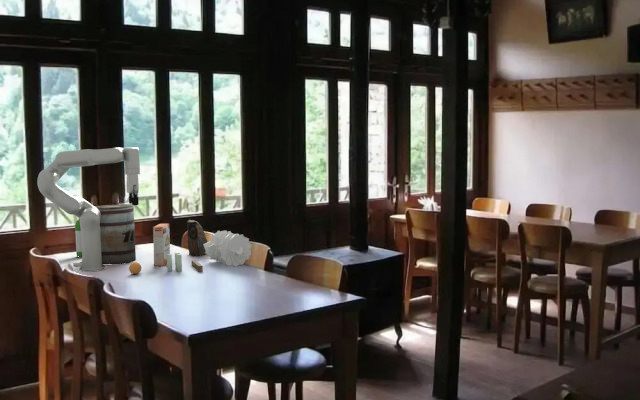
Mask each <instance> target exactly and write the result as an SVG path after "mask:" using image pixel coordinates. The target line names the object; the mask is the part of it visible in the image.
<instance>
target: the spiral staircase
mask: <svg viewBox="0 0 640 400" xmlns="http://www.w3.org/2000/svg"><path fill="white" fill-rule="evenodd" d="M203 245H204V248H205V251H206V252H205V253H206V254H207V255H206V256H208V257H209V258H210V260H214V261H216V262H218V261H219V263H222V264H225V265H227V264H228V265H227V266H233V267H234V266H235V267H238V266H239V265H241V266H243V265H244V263H245V262H246V260H250V256H252V251H251V250H252V249H251V248H252V247H253V245H252V244H251V242H250V238H248V237H247V236H246V237H245V236H244V234H239V233H232V232H231V230H230V231H227V230H221V231H220V230H217V232H215V233H214V234H212V235H211V238H210V241H208V242H207V243H205V244H203Z"/></svg>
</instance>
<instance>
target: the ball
mask: <svg viewBox="0 0 640 400" xmlns="http://www.w3.org/2000/svg"><path fill="white" fill-rule="evenodd" d="M128 270H129V272H130V273H131V274H133V275H138V274H140V273H141V271H142V265H141V263H140V262H136V261H133V262H131V263H129V268H128Z"/></svg>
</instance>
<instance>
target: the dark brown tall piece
mask: <svg viewBox="0 0 640 400" xmlns="http://www.w3.org/2000/svg"><path fill="white" fill-rule="evenodd" d="M186 225H187V226H186V228H187V235H186V236H187V249H188V254H189V255H188V256H192V257H198V258H199V257H200V258H202V257H203V256H208V255H207V254H206V253H205V252H206V251H205V248H204V245H203V244H205V243H207V242H209V241H208V240H207V237H206V234H205V231H204V229H203V227H202V225H201V224H200V223H199V222H198V221H196V220H193V219H192V220H191V219H189V220H187V221H186Z"/></svg>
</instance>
